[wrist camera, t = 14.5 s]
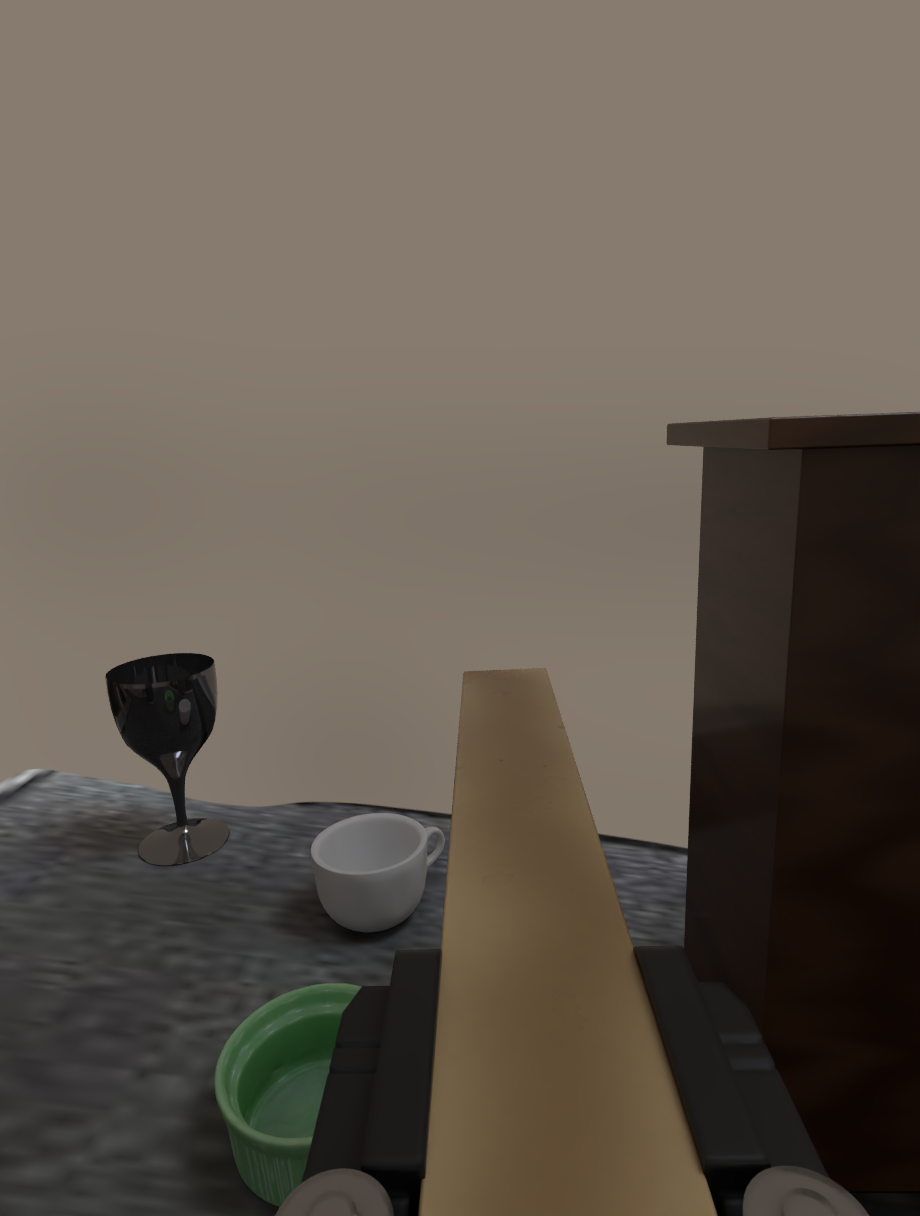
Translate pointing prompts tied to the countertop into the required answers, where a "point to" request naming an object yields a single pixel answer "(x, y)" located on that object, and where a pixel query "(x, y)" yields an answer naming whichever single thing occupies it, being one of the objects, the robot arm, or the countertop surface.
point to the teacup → (372, 869)
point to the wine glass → (169, 740)
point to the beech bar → (543, 993)
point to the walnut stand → (814, 768)
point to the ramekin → (279, 1084)
